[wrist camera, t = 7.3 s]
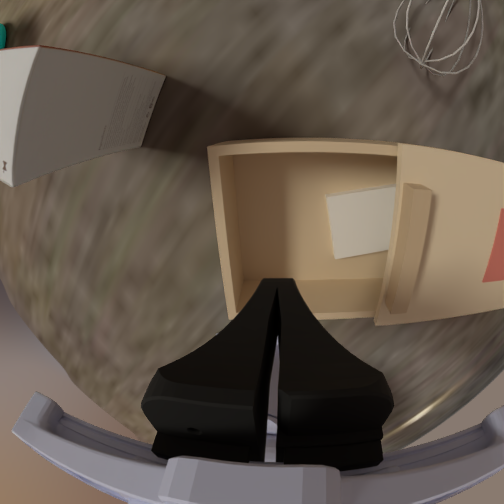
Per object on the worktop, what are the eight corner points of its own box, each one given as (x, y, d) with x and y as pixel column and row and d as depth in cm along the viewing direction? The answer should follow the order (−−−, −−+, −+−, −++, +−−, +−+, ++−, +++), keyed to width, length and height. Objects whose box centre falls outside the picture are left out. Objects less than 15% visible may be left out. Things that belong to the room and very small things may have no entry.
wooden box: (427, 277, 22) (450, 309, 17) (238, 282, 24) (228, 319, 19) (447, 149, 16) (483, 160, 12) (224, 141, 19) (207, 146, 14)
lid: (522, 299, 16) (531, 310, 14) (373, 320, 18) (380, 339, 16) (553, 179, 10) (567, 186, 8) (397, 142, 13) (413, 146, 11)
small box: (168, 74, 16) (41, 43, 5) (142, 148, 19) (12, 193, 8) (94, 61, 16) (-26, 53, 4) (74, 126, 19) (-44, 156, 7)
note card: (411, 240, 20) (415, 244, 19) (333, 254, 21) (335, 259, 20) (410, 181, 18) (414, 184, 17) (325, 194, 19) (326, 197, 18)
